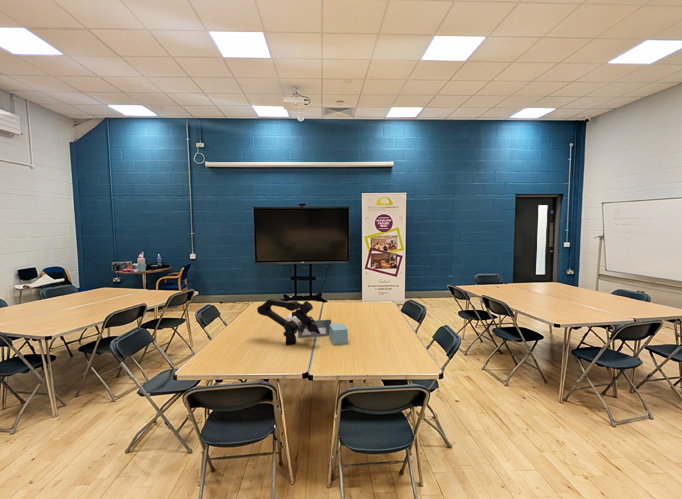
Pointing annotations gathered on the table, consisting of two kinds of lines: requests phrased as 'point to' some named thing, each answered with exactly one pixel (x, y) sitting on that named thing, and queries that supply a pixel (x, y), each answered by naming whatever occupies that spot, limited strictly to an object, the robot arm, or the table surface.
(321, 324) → the dark grey case
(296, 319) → the cable organizer
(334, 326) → the pale blue box
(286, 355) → the table surface
